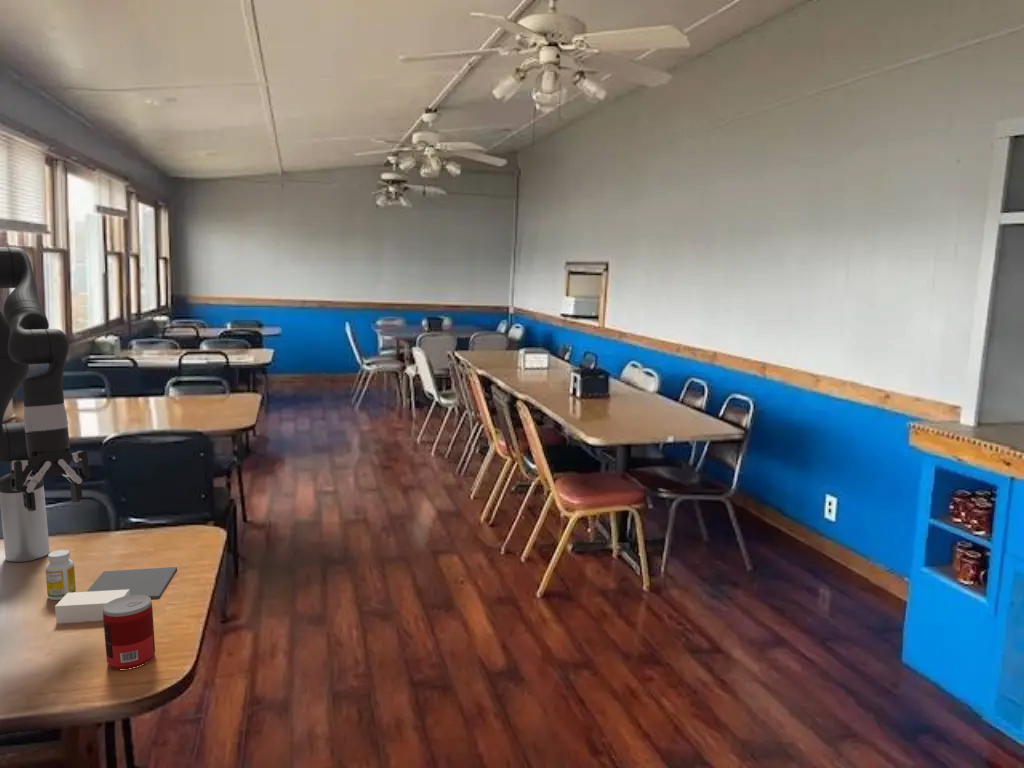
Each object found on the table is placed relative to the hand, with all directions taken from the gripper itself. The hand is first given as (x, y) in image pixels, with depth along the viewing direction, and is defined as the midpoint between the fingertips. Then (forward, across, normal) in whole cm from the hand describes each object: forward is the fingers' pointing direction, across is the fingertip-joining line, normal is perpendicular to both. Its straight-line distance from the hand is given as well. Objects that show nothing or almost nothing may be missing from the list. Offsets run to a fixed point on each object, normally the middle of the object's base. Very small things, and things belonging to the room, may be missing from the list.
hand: (54, 506), depth 158 cm
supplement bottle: (+21, -4, -10) cm, 24 cm away
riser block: (+23, -4, +5) cm, 24 cm away
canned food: (+26, +2, +29) cm, 39 cm away
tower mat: (+21, -16, -3) cm, 27 cm away
